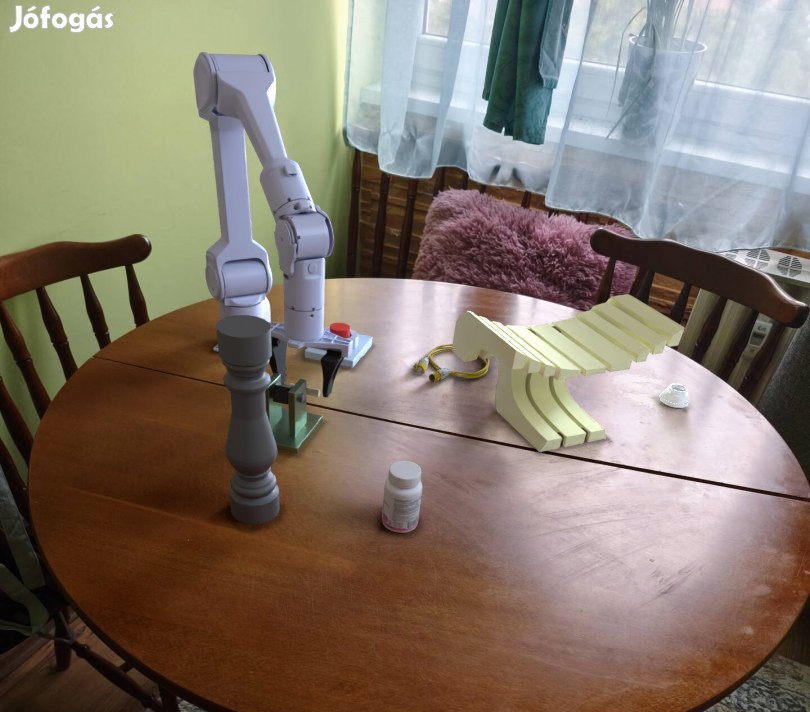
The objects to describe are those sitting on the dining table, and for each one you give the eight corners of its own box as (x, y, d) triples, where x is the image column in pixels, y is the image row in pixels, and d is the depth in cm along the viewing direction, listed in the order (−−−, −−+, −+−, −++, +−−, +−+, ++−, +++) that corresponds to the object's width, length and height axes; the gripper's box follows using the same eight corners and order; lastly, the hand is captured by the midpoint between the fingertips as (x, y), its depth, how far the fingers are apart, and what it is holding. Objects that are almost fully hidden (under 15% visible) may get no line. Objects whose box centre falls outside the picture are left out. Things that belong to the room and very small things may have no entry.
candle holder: (288, 504, 91) (283, 321, 75) (265, 532, 86) (255, 343, 70) (245, 492, 92) (232, 309, 76) (221, 518, 87) (201, 330, 71)
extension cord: (397, 355, 127) (398, 345, 126) (471, 346, 133) (473, 336, 132) (426, 386, 119) (427, 376, 118) (504, 375, 125) (506, 365, 124)
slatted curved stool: (588, 385, 125) (617, 287, 114) (646, 430, 115) (684, 327, 103) (443, 409, 114) (458, 303, 102) (492, 461, 103) (516, 350, 92)
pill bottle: (380, 510, 92) (384, 457, 86) (415, 511, 92) (422, 458, 87) (382, 533, 88) (387, 480, 83) (419, 534, 89) (426, 481, 83)
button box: (326, 335, 131) (327, 317, 128) (371, 345, 129) (373, 327, 127) (304, 359, 123) (304, 340, 120) (352, 370, 121) (353, 351, 119)
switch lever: (289, 394, 109) (291, 378, 108) (319, 401, 108) (321, 385, 107) (263, 399, 99) (265, 382, 98) (296, 406, 98) (298, 390, 98)
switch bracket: (274, 411, 108) (272, 362, 103) (322, 422, 107) (323, 373, 102) (246, 443, 101) (242, 392, 95) (297, 455, 100) (296, 404, 94)
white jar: (666, 392, 126) (653, 401, 123) (671, 378, 124) (659, 386, 121) (691, 403, 123) (679, 412, 120) (697, 389, 121) (685, 397, 118)
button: (333, 330, 126) (333, 320, 124) (352, 334, 125) (352, 324, 124) (326, 337, 123) (326, 328, 122) (345, 341, 122) (346, 332, 121)
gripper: (244, 303, 96) (249, 390, 105) (342, 324, 94) (339, 411, 103) (265, 286, 102) (268, 370, 111) (359, 305, 100) (354, 390, 108)
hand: (304, 389), depth 107 cm, fingers open, 7 cm apart
